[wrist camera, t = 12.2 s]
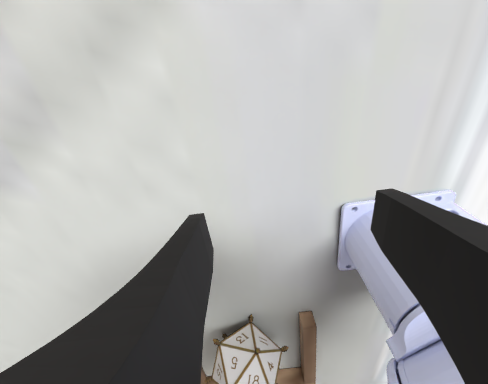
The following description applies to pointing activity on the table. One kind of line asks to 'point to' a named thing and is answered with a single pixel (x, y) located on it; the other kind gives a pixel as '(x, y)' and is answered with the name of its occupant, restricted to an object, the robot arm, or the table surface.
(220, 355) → the game die
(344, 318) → the table surface
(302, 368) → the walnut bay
